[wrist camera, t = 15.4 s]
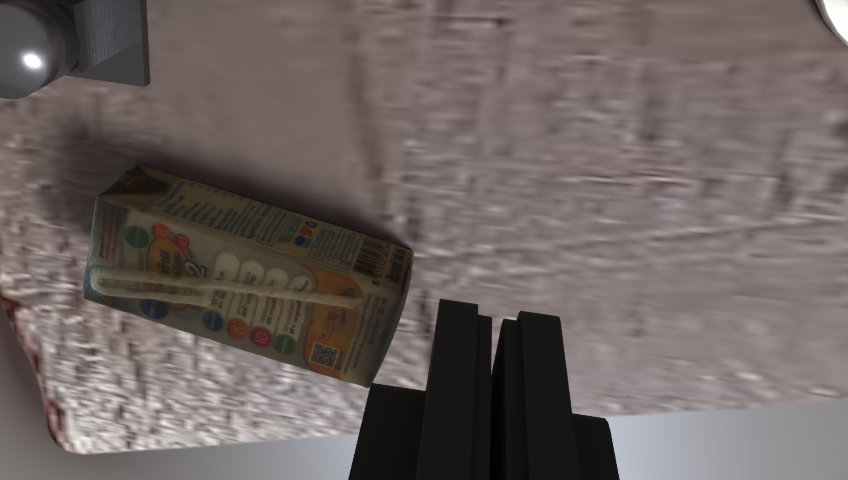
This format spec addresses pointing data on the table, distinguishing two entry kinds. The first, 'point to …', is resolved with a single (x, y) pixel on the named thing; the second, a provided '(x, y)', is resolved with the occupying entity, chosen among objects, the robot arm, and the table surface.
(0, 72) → the swing bar
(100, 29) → the grey pedestal base
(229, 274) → the beverage carton
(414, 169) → the table surface
